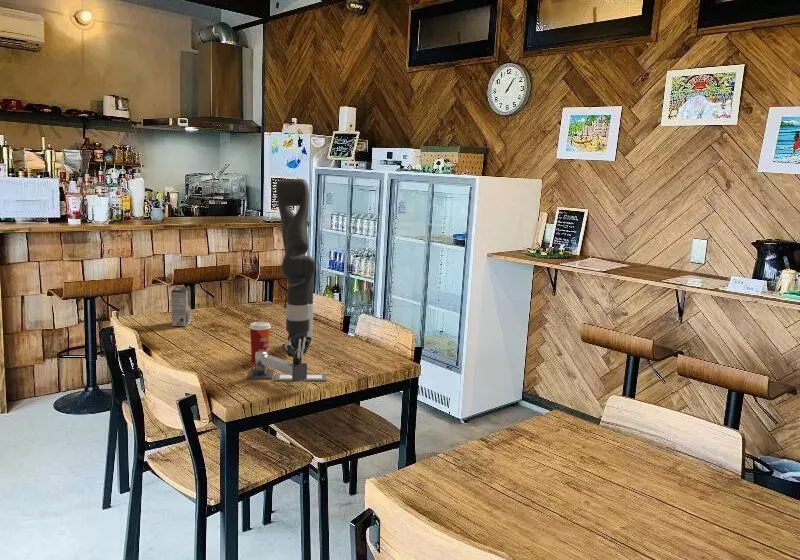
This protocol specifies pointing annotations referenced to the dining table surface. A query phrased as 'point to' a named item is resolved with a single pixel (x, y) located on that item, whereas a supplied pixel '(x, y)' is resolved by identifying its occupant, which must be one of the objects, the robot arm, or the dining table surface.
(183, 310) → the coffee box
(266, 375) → the pivot post
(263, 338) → the paper cup
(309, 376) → the label tile
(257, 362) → the swing arm
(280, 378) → the label tile
